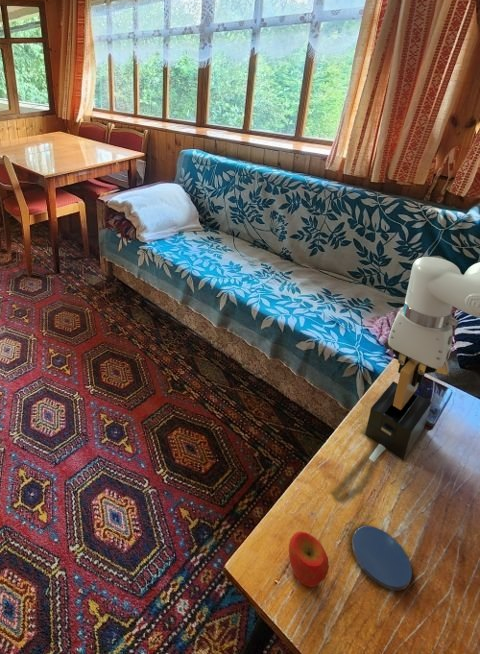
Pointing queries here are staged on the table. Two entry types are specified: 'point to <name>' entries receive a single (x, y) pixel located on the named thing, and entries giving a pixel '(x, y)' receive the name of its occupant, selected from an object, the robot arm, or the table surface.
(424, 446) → the table surface
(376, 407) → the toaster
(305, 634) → the table surface
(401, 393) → the toast
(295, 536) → the apple
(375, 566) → the plate
